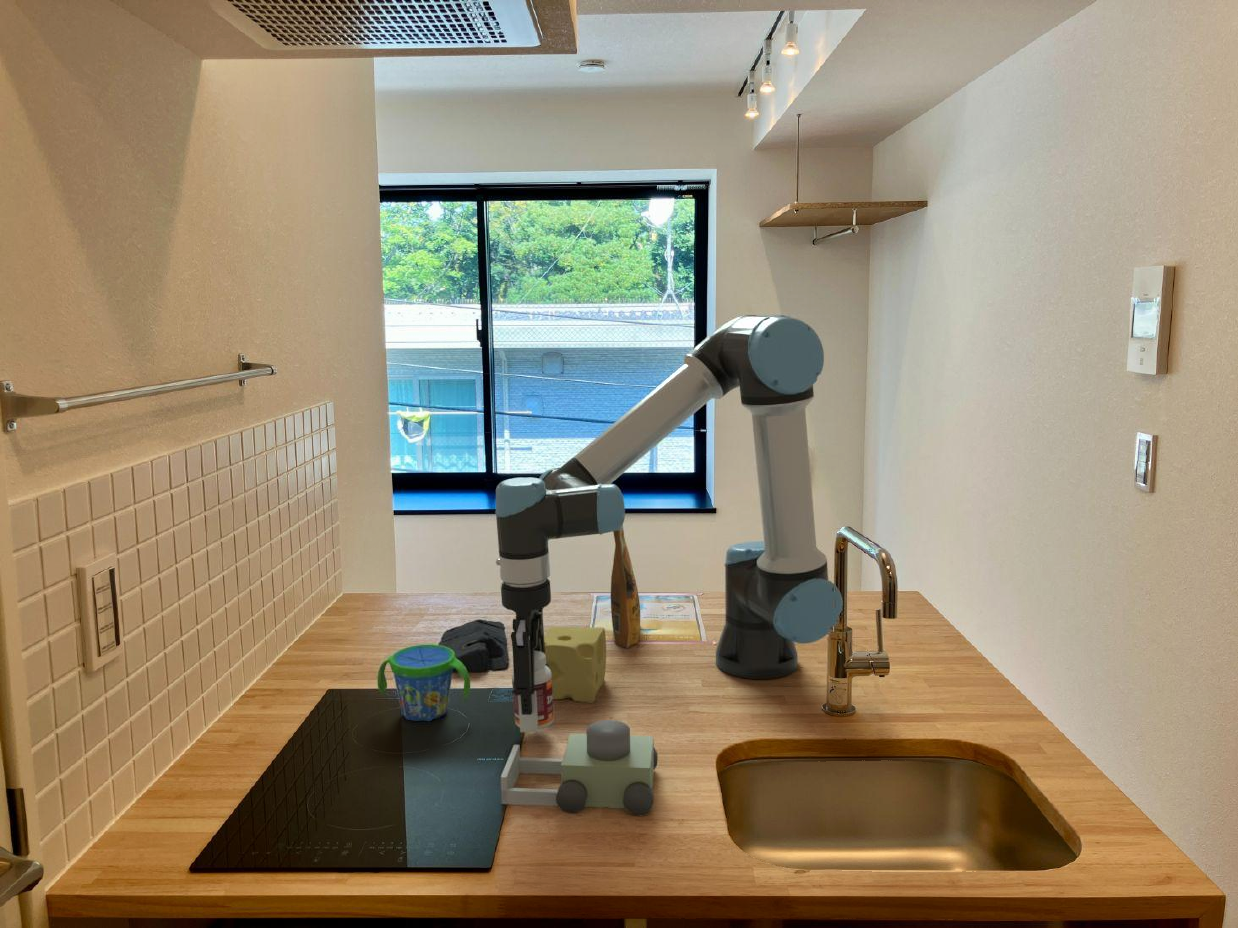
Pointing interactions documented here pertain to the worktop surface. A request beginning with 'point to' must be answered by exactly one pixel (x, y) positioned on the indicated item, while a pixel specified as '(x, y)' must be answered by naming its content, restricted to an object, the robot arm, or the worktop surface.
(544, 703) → the pill bottle
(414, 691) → the snack cup
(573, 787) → the toy lawn mower
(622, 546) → the pancake mix bag
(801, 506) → the robot arm
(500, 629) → the dark slate chunk
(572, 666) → the cheese
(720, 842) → the worktop surface
